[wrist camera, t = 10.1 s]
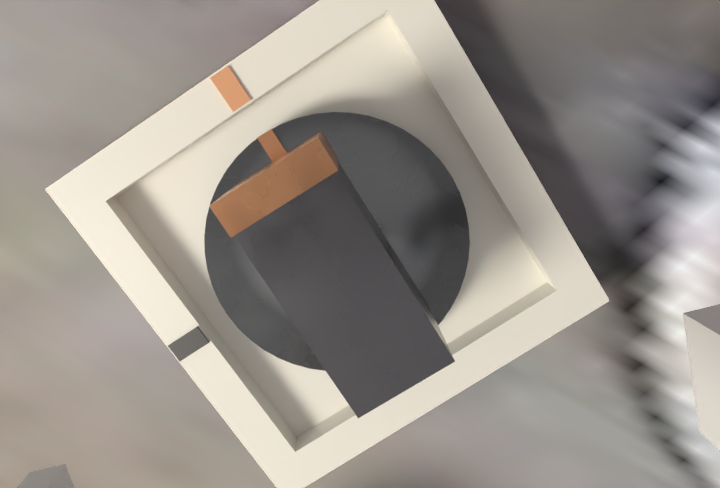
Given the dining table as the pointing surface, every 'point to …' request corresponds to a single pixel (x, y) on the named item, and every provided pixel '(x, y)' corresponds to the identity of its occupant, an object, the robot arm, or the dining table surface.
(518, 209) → the dial panel
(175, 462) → the dining table surface
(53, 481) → the robot arm
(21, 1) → the dining table surface
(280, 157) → the dial
